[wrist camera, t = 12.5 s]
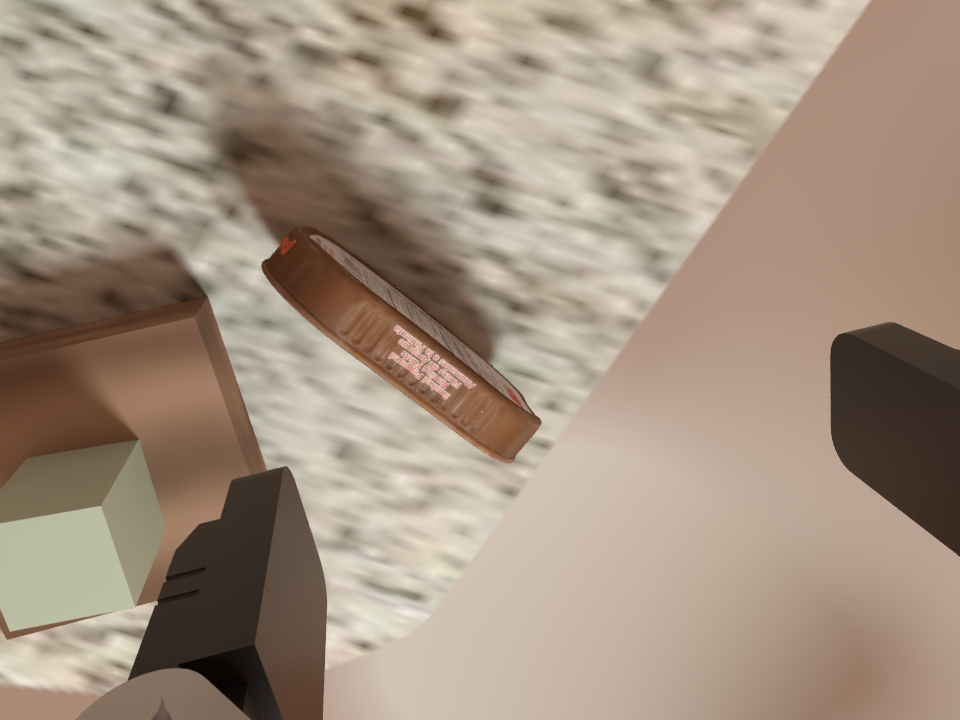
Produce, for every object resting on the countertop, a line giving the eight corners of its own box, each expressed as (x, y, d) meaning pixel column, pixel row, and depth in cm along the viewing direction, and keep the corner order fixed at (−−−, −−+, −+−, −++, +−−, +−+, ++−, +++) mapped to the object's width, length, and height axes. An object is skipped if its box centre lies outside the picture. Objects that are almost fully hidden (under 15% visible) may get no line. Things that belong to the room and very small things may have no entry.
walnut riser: (-81, 359, 36) (-129, 390, 33) (209, 293, 37) (194, 316, 34) (37, 589, 41) (6, 639, 38) (288, 525, 43) (282, 567, 39)
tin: (266, 249, 37) (244, 295, 29) (306, 200, 36) (295, 233, 28) (490, 421, 42) (522, 498, 34) (528, 380, 41) (569, 449, 34)
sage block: (27, 457, 35) (-34, 529, 29) (138, 439, 35) (100, 505, 30) (60, 548, 36) (9, 631, 31) (166, 529, 37) (135, 607, 32)
